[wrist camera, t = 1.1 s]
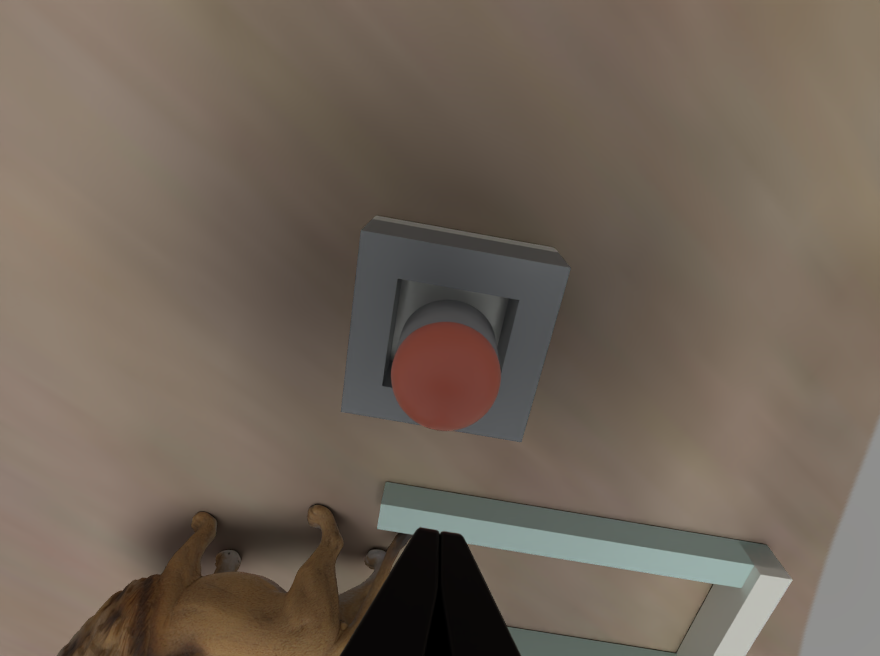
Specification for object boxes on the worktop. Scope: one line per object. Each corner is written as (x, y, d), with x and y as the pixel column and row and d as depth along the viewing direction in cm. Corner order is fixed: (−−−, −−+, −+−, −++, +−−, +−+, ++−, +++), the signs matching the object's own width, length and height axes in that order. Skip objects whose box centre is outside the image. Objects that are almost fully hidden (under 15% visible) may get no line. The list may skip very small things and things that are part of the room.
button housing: (513, 402, 21) (521, 442, 19) (356, 375, 21) (340, 411, 18) (554, 247, 19) (571, 267, 16) (376, 215, 19) (361, 230, 16)
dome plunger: (484, 394, 18) (491, 462, 14) (393, 378, 18) (376, 443, 14) (505, 309, 17) (518, 359, 13) (407, 291, 16) (391, 338, 13)
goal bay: (692, 674, 28) (709, 713, 26) (363, 622, 27) (355, 658, 25) (766, 544, 24) (792, 579, 22) (385, 481, 23) (379, 511, 21)
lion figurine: (171, 591, 27) (41, 798, 19) (128, 518, 25) (-39, 712, 17) (428, 557, 25) (412, 768, 17) (403, 475, 23) (370, 667, 15)
